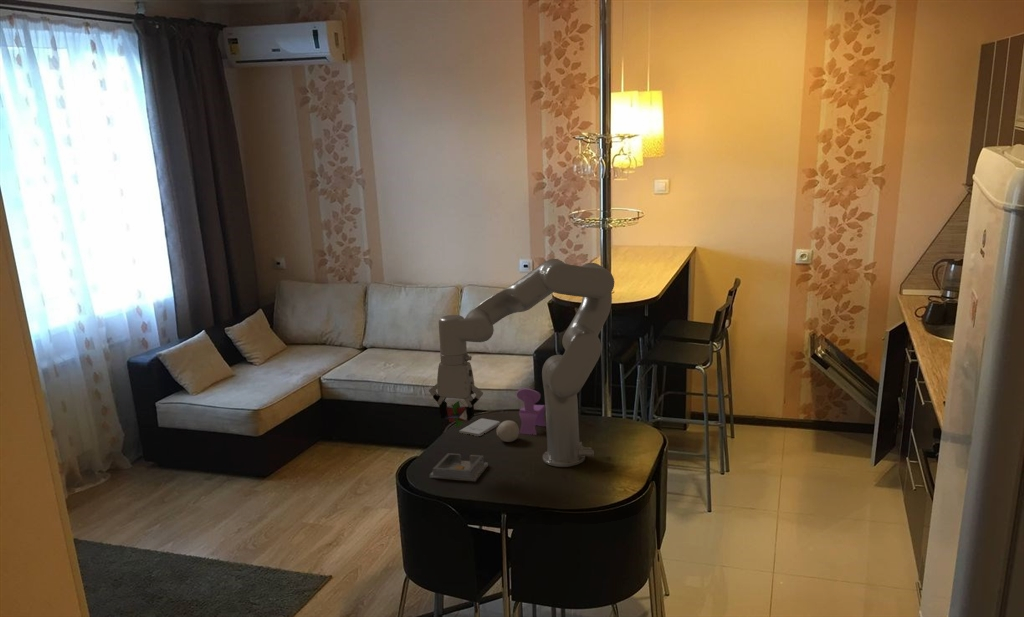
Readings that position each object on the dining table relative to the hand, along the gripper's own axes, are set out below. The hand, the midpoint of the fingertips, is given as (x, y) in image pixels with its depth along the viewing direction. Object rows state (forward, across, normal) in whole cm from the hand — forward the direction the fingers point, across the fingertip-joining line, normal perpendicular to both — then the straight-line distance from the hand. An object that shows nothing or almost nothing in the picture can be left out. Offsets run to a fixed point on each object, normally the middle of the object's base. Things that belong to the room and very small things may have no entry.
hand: (457, 417), depth 226 cm
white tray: (+16, 0, +1) cm, 16 cm away
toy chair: (+16, -12, -36) cm, 41 cm away
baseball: (+16, -7, -24) cm, 30 cm away
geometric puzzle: (+2, 0, 0) cm, 2 cm away
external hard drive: (+17, +6, -33) cm, 38 cm away
